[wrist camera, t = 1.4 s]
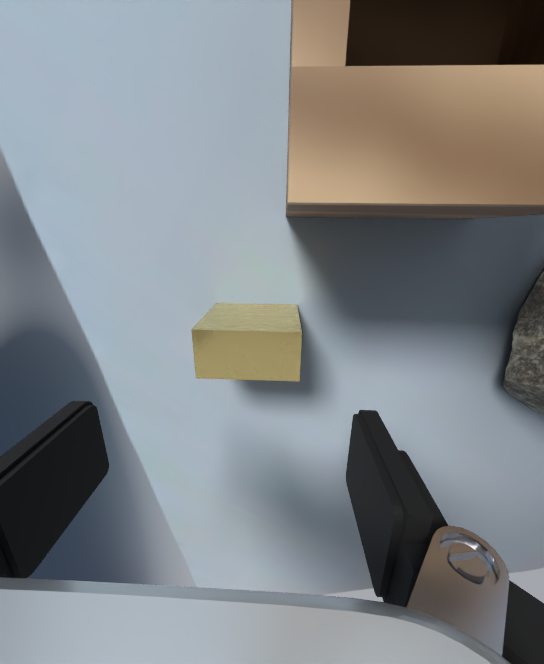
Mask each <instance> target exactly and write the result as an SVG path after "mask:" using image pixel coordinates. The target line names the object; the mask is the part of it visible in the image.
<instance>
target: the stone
mask: <svg viewBox="0 0 544 664" xmlns="http://www.w3.org/2000/svg"><path fill="white" fill-rule="evenodd" d="M509 358H510V359H509V361H508V364H507V365H508V366H507V367H506V370H505V377H504V384H503V387H504V389H505V390H507V391H508V393H509V394H510V395H512V396H514V397H515V398H517V399H518V400H519V401H521V402H522V403H524V404H525V405H527V406H529V407H530V408H532V409H533V410H535V411H537V412H539V413H540V414H542V415H544V271H543V273H542V274H541V275H540V277H539V278H538V280H537V282H536V284H535V286H534V288H533V289H532V291H531V292H530V294H529V296H528V298H527V300H526V301H525V303H524V305H523V307H522V308H521V310H520V313H519V315H518V322H517V324H516V326H515V328H514V331H513V341H512V352H511V354H510V357H509Z"/></svg>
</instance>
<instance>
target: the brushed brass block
mask: <svg viewBox="0 0 544 664" xmlns="http://www.w3.org/2000/svg"><path fill="white" fill-rule="evenodd" d="M192 339H193V351H194V362H195V373H196V378H203V379H236V380H269V381H300V364H301V344H302V329H301V323H300V318H299V312H298V307H297V305H284V304H237V303H216V304H215V305H214V306H213V307H212V308H211V309H210V310H209V311H208V312H207V314H206V315H205V316H204V317H203V318H202V319H201V320H200V321H199V322H198V323H197V324H196V325H195V326H194V327H193V329H192Z"/></svg>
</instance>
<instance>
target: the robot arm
mask: <svg viewBox="0 0 544 664" xmlns="http://www.w3.org/2000/svg"><path fill="white" fill-rule="evenodd" d="M108 468H109V462H108V457H107V453H106V448H105V443H104V439H103V434H102V430H101V425H100V420H99V416H98V411H97V408H96V406H93V404H92V403H91V402H89V401H72V402H70V403H69V404H67V405H66V406H65V407H63V408H62V409H61V410H59V411H58V412H57V413H56V414H54V415H53V416H52V417H51V418H49V419H48V420H47V421H46V422H44V423H43V424H41V425H40V426H39V427H38V428H36V429H35V430H34V431H32V432H31V433H30V434H29V435H27V436H26V437H25V438H23V439H22V440H21V441H20V442H19V443H17V444H16V445H14V446H13V447H12V448H10V449H9V450H8V451H7V452H5V453H4V454H3V455H2V456H0V664H544V603H542V602H541V601H539V600H538V599H536V598H535V597H533V596H532V595H530V594H529V593H527V592H526V591H524V590H523V589H521V588H520V587H519V586H517V585H516V584H514V583H513V582H511V581H510V580H509V576H508V570H507V568H506V566H505V564H504V562H503V560H502V559H501V557H500V556H499V555H498V553H497V552H496V551H495V550H494V549H493V548H492V547H491V546H490V545H489V544H488V543H487V542H486V541H485V540H483V539H482V538H480V537H479V536H477V535H476V534H474V533H472V532H470V531H468V530H466V529H463V528H460V527H455V526H448V524H447V522H446V521H445V519H444V517H443V515H442V514H441V512H440V510H439V508H438V507H437V505H436V503H435V501H434V500H433V498H432V496H431V494H430V493H429V491H428V489H427V487H426V486H425V484H424V482H423V480H422V479H421V477H420V475H419V473H418V472H417V470H416V468H415V466H414V465H413V463H412V461H411V459H410V458H409V456H408V455H407V453H406V452H405V451H400V450H398V449H397V447H396V446H395V444H394V442H393V440H392V438H391V436H390V434H389V433H388V431H387V429H386V427H385V425H384V423H383V421H382V420H381V418H380V416H379V414H378V412H377V411H373V410H360V411H359V413H358V414H354V415H353V421H352V429H351V438H350V446H349V454H348V462H347V471H346V482H347V487H348V491H349V494H350V498H351V502H352V506H353V510H354V514H355V518H356V522H357V526H358V529H359V533H360V537H361V541H362V545H363V549H364V553H365V557H366V561H367V564H368V568H369V572H370V576H371V580H372V584H373V588H374V591H375V594H376V596H377V597H382V598H383V601H384V602H377V601H370V600H362V599H355V598H346V597H334V596H322V595H309V594H297V593H283V592H266V591H249V590H232V589H216V588H199V587H180V586H163V585H144V584H125V583H106V582H87V581H65V580H45V579H25V578H27V577H29V576H30V575H31V574H32V573H33V572H34V571H35V570H36V568H37V567H38V565H39V564H40V563H41V561H42V560H43V559H44V557H45V556H46V555H47V553H48V552H49V551H50V549H51V548H52V546H53V545H54V544H55V543H56V541H57V540H58V539H59V537H60V536H61V535H62V533H63V532H64V530H65V529H66V528H67V527H68V525H69V523H71V521H72V520H73V519H74V517H75V516H76V515H77V513H78V512H79V510H80V509H81V508H82V506H83V505H84V504H85V502H86V501H87V500H88V498H89V497H90V496H91V494H92V493H93V492H94V490H95V489H96V488H97V486H98V485H99V484H100V482H101V481H102V479H103V478H104V477H105V476H106V474H107V472H108Z"/></svg>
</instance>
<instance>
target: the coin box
mask: <svg viewBox="0 0 544 664" xmlns="http://www.w3.org/2000/svg"><path fill="white" fill-rule="evenodd" d="M537 214H544V0H292V3H291V41H290V79H289V117H288V155H287V194H286V217H369V218H463V219H472V218H489V217H505V216H521V215H537Z"/></svg>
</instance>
